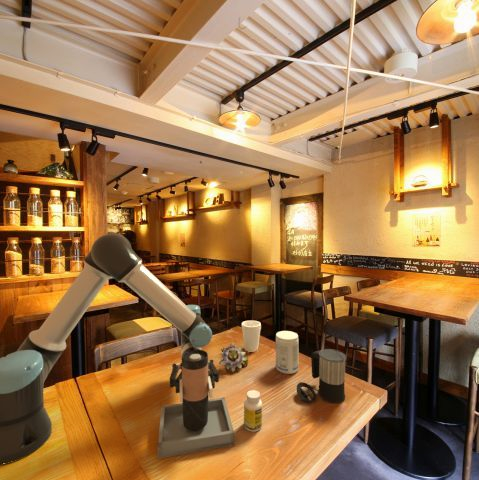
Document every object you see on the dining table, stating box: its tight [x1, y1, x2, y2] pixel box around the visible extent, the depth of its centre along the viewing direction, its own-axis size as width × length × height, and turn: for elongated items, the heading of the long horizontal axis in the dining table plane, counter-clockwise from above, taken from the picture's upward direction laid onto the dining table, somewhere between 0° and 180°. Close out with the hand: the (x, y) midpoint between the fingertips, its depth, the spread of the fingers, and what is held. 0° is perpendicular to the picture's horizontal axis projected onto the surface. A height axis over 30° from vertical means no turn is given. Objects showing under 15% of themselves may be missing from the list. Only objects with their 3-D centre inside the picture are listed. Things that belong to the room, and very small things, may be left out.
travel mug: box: [181, 349, 209, 431], centre depth 79 cm, size 8×8×20 cm
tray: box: [157, 397, 235, 460], centre depth 79 cm, size 20×16×4 cm
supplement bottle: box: [243, 389, 263, 433], centre depth 81 cm, size 5×5×10 cm
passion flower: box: [218, 342, 249, 373], centre depth 116 cm, size 11×11×12 cm
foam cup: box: [241, 320, 262, 352], centre depth 132 cm, size 10×9×13 cm
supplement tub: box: [275, 330, 300, 375], centre depth 114 cm, size 10×10×15 cm
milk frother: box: [296, 348, 347, 404], centre depth 95 cm, size 14×16×15 cm
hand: (196, 395), depth 74 cm, fingers closed on travel mug, 7 cm apart
